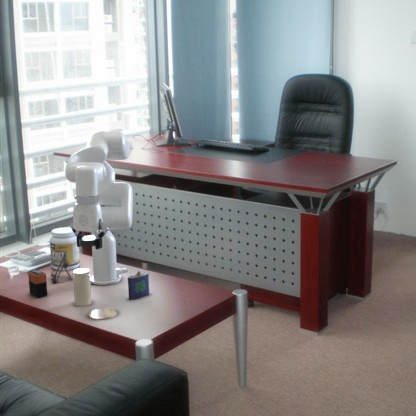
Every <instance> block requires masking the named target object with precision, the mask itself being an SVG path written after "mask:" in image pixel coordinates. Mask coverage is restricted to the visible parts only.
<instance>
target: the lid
mask: <svg viewBox="0 0 416 416" xmlns="http://www.w3.org/2000/svg"><path fill="white" fill-rule="evenodd" d="M95 239H96V236H93V235H91V234H89V235H83V236H82V237H80V238H79V245H80V247H83V248H84V247H86V248H90V247H91V248H92V246H95Z"/></svg>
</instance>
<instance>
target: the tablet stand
mask: <svg viewBox="0 0 416 416" xmlns="http://www.w3.org/2000/svg"><path fill="white" fill-rule="evenodd" d="M61 263H62V267H61V269H60V270H59V268H60V265H61ZM68 266H69V265H68V262H67V258H66V257H63V258H62V259H61V262H60V264H59V266H58V269H57V270H55V273H54V274H53V272H50V279H51V282H52V284H57V283H58V282H59V278H60V276H61V273H62V272H63V270H62V269H63V268H65V270H64V271H65V272H66V274H67V275H68V277H69V279H70V280H71V281H73V278H72V276H71V274H70V272H69V270H67V269H66V268H67V267H68Z"/></svg>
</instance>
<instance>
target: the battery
mask: <svg viewBox="0 0 416 416" xmlns="http://www.w3.org/2000/svg"><path fill="white" fill-rule="evenodd" d="M27 275H28V276H27V277H28V288H29V289H28V290H29V294H30V295H32V296H34V297H35V298H36V299H37V298H42V297H46V296H48V281H47V273H45V272H43V271H42V270H39V269H37V268H33V269H32V270H31V271H28V274H27Z"/></svg>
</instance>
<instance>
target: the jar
mask: <svg viewBox="0 0 416 416" xmlns="http://www.w3.org/2000/svg"><path fill="white" fill-rule="evenodd" d="M72 274H73V275H72V281H73V282H72V283H73V299H74V300H73V301H74V305H75V306H77V307H86V306H89V305H91V304H92V287H91V286H92V285H91V282H90V278H91V274H90V269H89V268H75V269H73V271H72Z"/></svg>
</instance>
